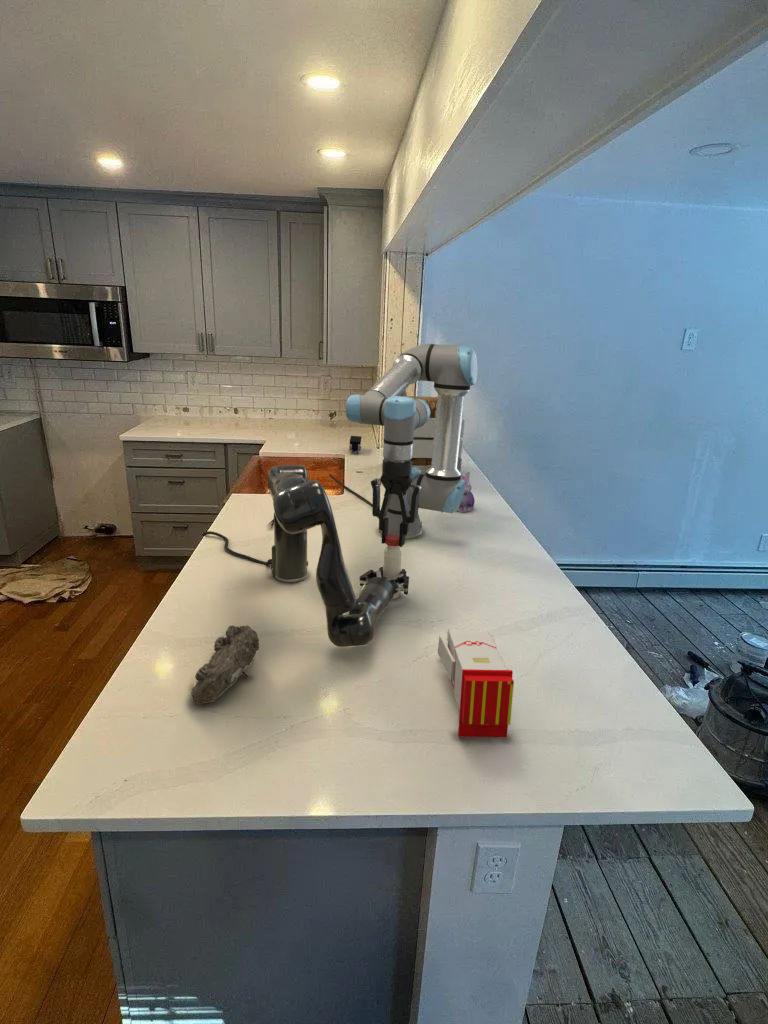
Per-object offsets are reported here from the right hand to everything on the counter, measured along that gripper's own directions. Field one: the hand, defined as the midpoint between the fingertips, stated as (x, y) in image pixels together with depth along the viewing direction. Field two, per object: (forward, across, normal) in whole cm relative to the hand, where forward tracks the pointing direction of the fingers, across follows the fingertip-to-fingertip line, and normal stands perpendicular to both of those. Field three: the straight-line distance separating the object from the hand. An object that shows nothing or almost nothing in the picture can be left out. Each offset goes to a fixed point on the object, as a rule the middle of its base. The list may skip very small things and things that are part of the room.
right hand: (393, 543), depth 152 cm
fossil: (+16, +18, +48) cm, 54 cm away
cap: (-2, 0, 0) cm, 2 cm away
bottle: (+16, 0, 0) cm, 16 cm away
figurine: (+15, -2, -80) cm, 82 cm away
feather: (+15, +59, -40) cm, 73 cm away
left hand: (+9, 0, -3) cm, 10 cm away
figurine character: (+15, +74, -146) cm, 164 cm away
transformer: (+15, +30, -122) cm, 127 cm away
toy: (+16, -30, +33) cm, 47 cm away
